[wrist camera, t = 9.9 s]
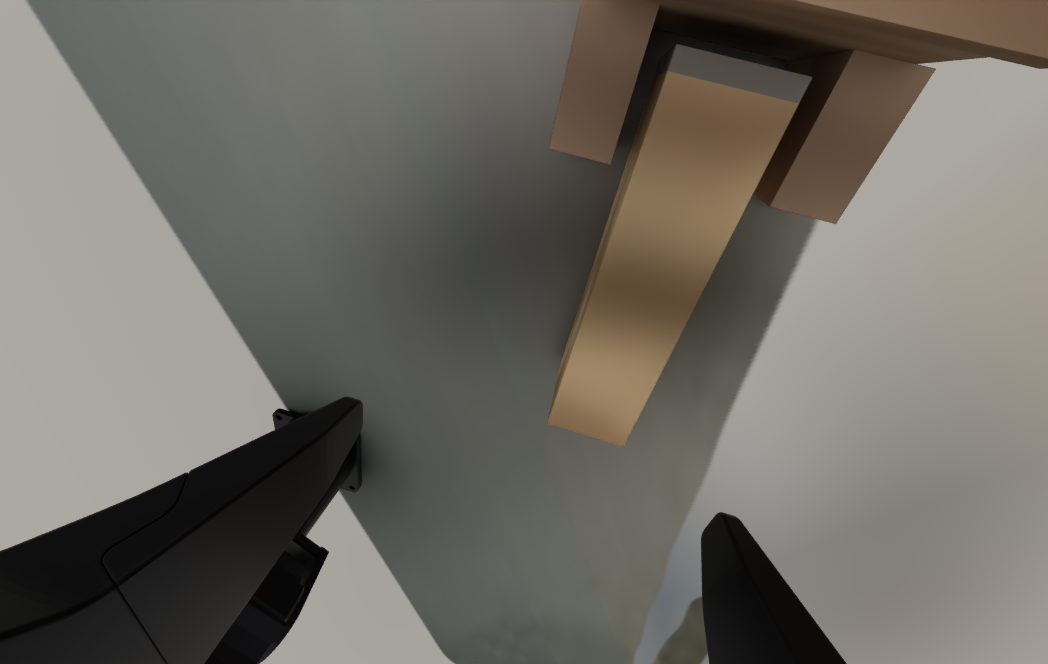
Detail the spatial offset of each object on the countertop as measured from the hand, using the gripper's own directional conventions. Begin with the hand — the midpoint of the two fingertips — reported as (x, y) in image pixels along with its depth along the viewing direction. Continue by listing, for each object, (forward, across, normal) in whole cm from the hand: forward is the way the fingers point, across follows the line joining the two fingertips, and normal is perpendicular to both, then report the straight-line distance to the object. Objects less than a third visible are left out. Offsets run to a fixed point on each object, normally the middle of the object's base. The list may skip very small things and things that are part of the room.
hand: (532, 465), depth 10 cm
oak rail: (+12, -2, -2) cm, 12 cm away
